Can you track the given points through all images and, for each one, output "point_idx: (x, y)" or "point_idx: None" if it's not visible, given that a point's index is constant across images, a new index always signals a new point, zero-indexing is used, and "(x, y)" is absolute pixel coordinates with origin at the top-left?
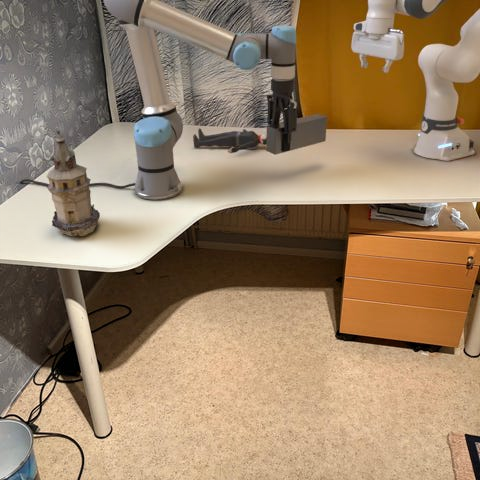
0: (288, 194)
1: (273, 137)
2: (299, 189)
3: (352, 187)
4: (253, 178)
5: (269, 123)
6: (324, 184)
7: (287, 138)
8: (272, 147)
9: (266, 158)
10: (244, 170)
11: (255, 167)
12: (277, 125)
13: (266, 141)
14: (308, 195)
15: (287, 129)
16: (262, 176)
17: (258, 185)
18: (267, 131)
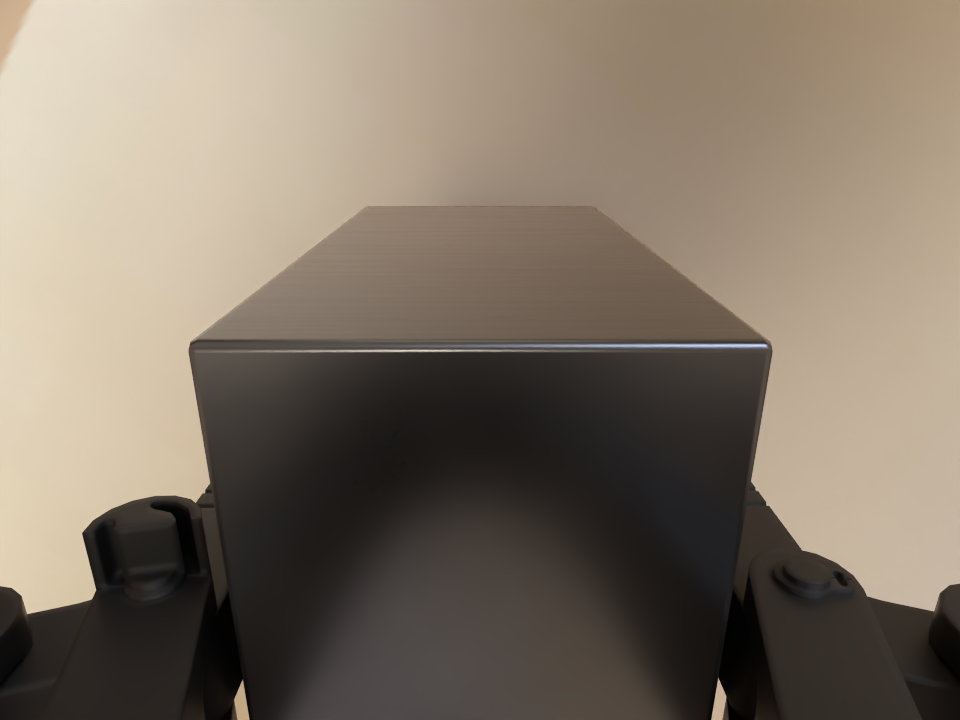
0: (134, 116)
1: (368, 262)
2: (184, 271)
3: (31, 598)
4: (644, 79)
5: (950, 616)
6: (173, 489)
7: (212, 505)
8: (427, 222)
9: (909, 476)
10: (864, 134)
11: (836, 272)
12: (513, 631)
13: (628, 234)
14: (36, 250)
15: (85, 653)
16: (622, 187)
17: (471, 4)
18: (656, 288)
